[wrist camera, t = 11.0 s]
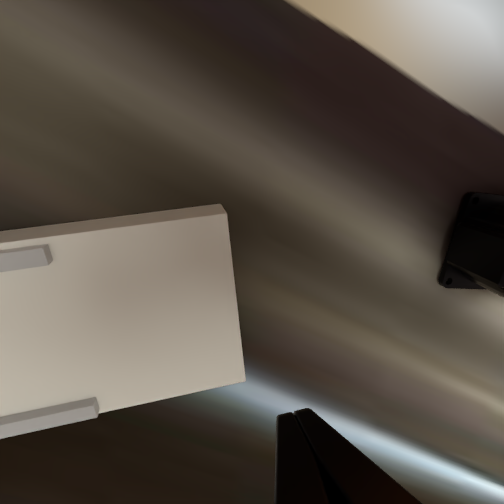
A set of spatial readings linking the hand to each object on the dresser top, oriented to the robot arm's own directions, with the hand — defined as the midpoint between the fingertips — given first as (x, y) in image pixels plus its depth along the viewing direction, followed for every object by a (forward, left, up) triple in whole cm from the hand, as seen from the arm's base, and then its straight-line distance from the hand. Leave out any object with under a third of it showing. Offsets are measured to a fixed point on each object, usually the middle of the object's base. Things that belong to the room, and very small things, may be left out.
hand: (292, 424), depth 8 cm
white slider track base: (+11, +4, -12) cm, 17 cm away
